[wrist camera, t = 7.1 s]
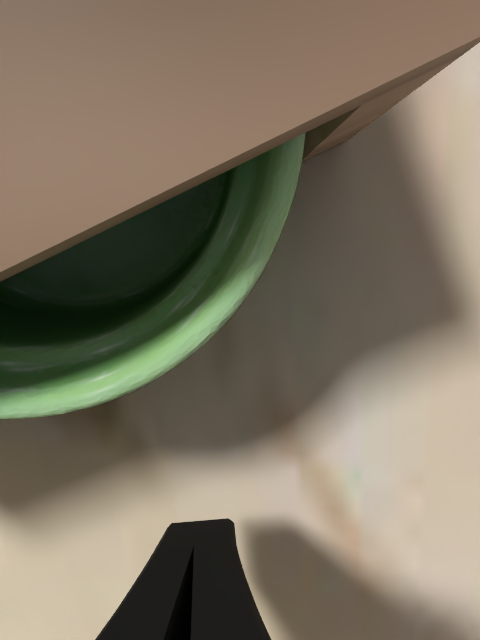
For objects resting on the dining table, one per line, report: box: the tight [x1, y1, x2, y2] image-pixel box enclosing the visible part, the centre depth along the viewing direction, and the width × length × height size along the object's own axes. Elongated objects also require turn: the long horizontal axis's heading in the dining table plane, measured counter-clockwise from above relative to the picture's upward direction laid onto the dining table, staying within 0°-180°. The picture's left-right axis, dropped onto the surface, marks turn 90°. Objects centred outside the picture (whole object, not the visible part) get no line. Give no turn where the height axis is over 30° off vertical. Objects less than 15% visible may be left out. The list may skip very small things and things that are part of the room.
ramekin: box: [0, 132, 306, 419], centre depth 8 cm, size 9×9×4 cm
